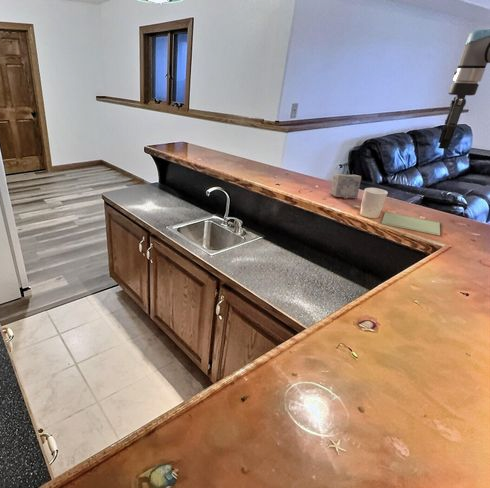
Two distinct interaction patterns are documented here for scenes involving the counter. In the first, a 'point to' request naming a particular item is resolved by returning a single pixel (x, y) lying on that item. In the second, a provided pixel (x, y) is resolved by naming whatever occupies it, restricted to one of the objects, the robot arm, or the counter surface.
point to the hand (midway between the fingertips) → (442, 145)
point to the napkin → (411, 223)
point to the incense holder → (345, 185)
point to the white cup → (372, 202)
